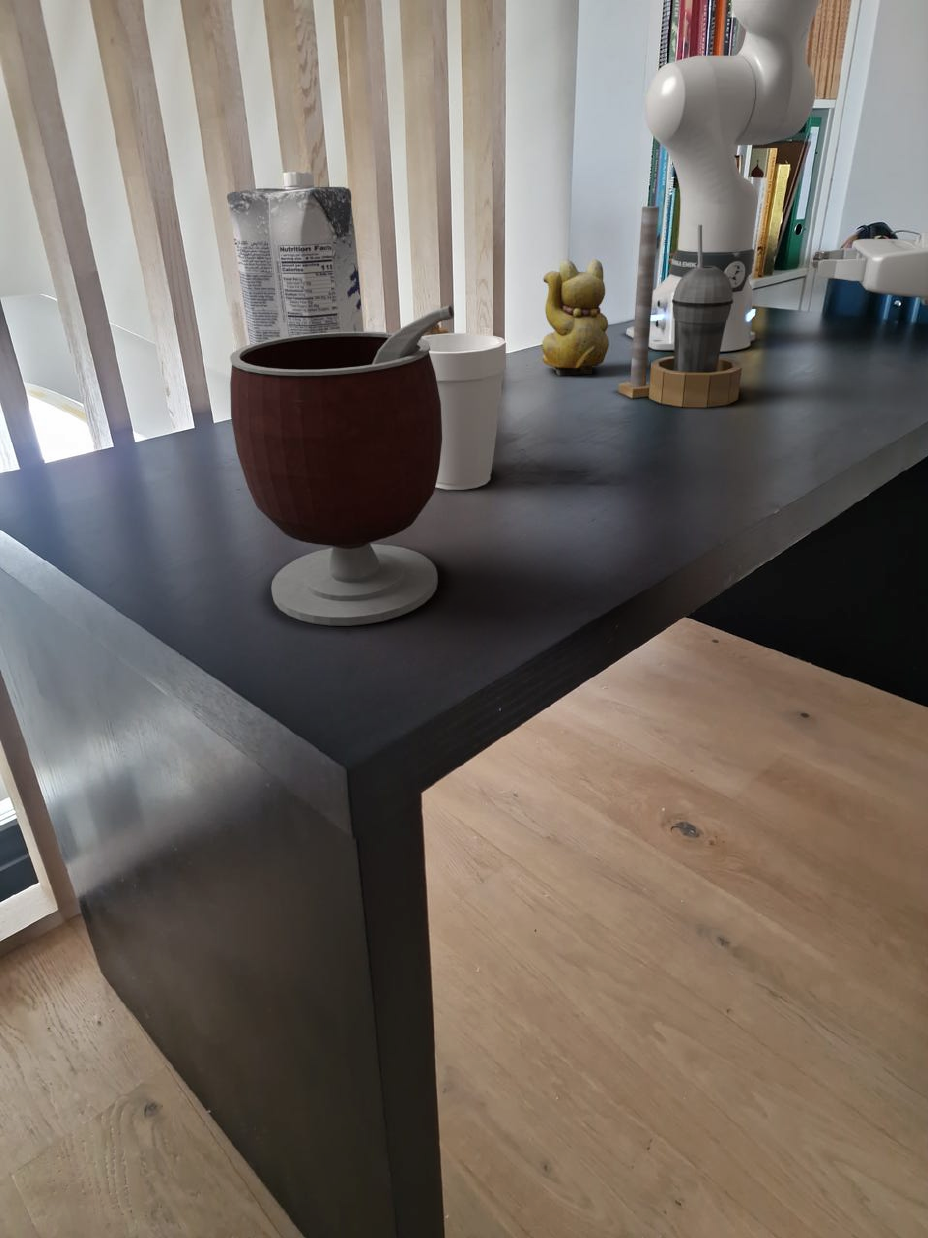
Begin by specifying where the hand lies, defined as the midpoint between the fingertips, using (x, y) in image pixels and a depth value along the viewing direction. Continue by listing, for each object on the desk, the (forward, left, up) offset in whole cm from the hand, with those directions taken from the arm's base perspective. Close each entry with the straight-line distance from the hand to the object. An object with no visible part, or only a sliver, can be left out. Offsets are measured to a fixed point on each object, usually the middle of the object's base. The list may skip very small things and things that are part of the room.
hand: (814, 263), depth 96 cm
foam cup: (+10, -48, -16) cm, 51 cm away
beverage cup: (-7, -10, -16) cm, 20 cm away
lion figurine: (-30, -37, -16) cm, 50 cm away
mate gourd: (+29, -62, -16) cm, 70 cm away
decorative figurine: (-26, -17, -16) cm, 35 cm away
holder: (-7, -10, -16) cm, 20 cm away
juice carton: (-4, -59, -16) cm, 61 cm away
